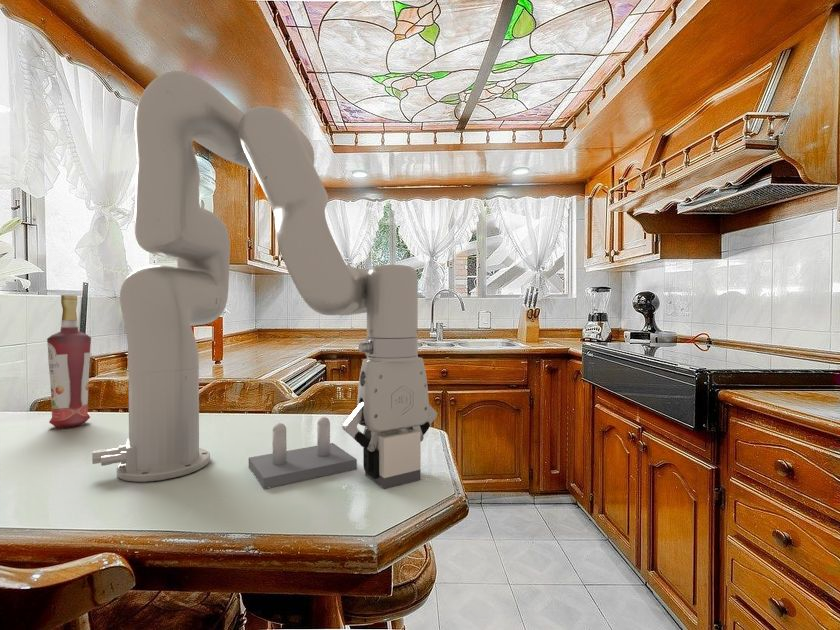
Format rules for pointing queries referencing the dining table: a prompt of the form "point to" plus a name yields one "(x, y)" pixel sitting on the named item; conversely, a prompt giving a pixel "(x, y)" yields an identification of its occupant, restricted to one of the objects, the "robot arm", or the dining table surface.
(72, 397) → the liquor
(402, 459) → the sleeve
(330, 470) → the pin board
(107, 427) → the dining table surface
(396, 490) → the dining table surface
